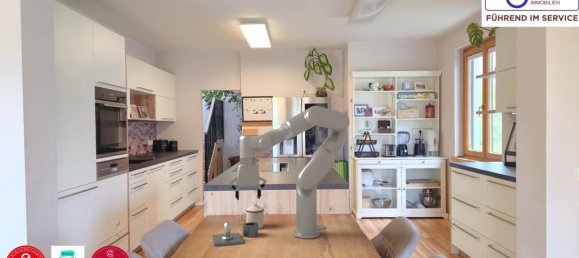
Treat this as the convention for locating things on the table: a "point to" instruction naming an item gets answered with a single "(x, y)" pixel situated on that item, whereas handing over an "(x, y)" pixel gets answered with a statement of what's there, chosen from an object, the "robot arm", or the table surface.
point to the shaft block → (227, 237)
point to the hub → (250, 229)
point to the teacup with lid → (254, 215)
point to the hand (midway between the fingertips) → (248, 198)
